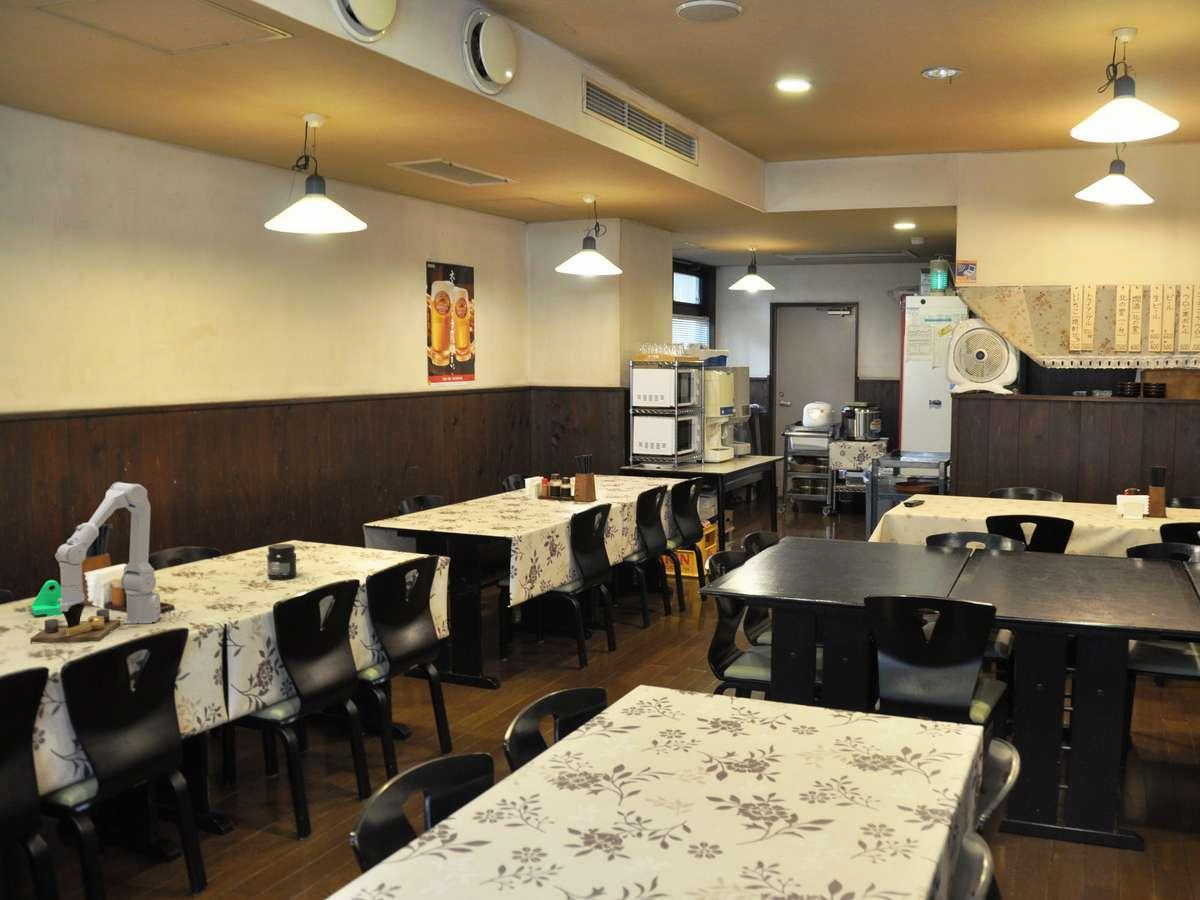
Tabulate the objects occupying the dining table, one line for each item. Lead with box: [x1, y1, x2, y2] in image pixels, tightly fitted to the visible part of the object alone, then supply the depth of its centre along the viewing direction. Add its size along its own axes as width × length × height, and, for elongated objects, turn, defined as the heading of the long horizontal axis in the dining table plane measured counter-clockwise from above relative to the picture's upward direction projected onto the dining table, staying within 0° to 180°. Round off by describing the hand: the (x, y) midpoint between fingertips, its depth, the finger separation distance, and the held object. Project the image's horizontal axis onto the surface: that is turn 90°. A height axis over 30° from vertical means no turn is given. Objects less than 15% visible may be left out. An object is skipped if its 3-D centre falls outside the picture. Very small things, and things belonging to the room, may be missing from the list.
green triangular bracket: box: [30, 579, 63, 617], centre depth 349 cm, size 12×8×10 cm, turn 124°
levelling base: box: [30, 608, 121, 643], centre depth 324 cm, size 19×19×5 cm
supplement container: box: [266, 543, 298, 581], centre depth 403 cm, size 10×10×12 cm
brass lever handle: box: [66, 615, 105, 636], centre depth 320 cm, size 12×4×3 cm, turn 156°
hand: (73, 629), depth 320 cm, fingers closed
